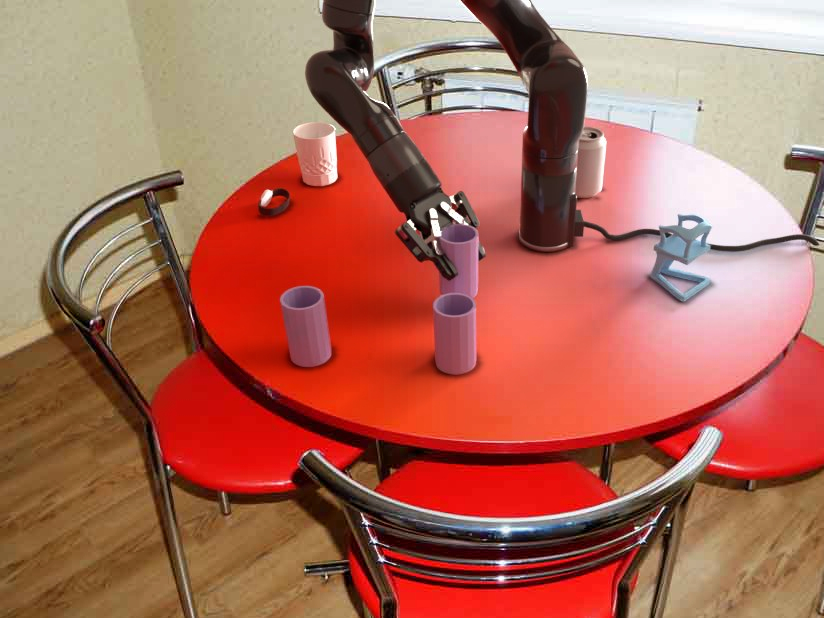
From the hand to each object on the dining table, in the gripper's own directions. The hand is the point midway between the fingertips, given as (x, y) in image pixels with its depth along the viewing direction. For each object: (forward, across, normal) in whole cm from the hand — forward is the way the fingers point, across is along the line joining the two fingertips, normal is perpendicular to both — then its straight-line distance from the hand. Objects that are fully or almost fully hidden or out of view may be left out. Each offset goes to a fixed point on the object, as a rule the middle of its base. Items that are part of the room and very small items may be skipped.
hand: (467, 268), depth 127 cm
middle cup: (+2, 0, +4) cm, 5 cm away
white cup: (-30, +19, +43) cm, 56 cm away
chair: (+21, +28, -9) cm, 36 cm away
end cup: (-2, -22, +14) cm, 26 cm away
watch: (-29, +5, +41) cm, 50 cm away
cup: (+10, -10, +2) cm, 15 cm away
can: (0, +46, +12) cm, 48 cm away
